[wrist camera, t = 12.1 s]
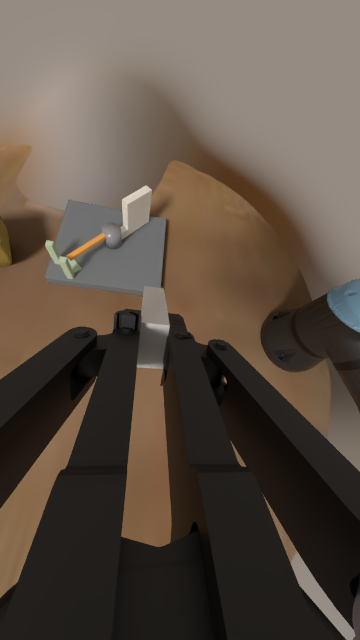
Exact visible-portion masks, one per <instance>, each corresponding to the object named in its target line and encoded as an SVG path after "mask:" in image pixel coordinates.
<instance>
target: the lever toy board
mask: <svg viewBox="0 0 360 640" xmlns="http://www.w3.org/2000/svg"><path fill="white" fill-rule="evenodd" d="M108 222H113V223H116V224H118V225H119V226H120V227H121V226H123V212H122V210H118V209H113V208H108V207H103V206H97V205H93V204H88V203H83V202H77V201H72V200H68V203H67V206H66V210H65V213H64V216H63V219H62V223H61V226H60V229H59V233H58V236H57V239H56V242H55V244H54V242H53V241H48V240H46V243H45V247H46V248H47V250H48V252H49V254H50V256H51V259H50V262H49V265H48V269H47V272H46V275H45V279H46V281H47V282H48V283H52V284H60V285H68V286H75V287H83V288H91V289H98V290H106V291H113V292H121V293H129V294H136V295H143V292H144V286H150V287H157V288H161V276H162V264H163V252H164V240H165V228H166V219H163V218H158V217H153V216H149V222H148V223H146V224H145V225H143V226H142V227H140V228H139V229H137V230H136V231H134V232H133V233H131V234H130V235H128V236H127V237H125V238H124V239H122V244H121V246H120V247H119V248H117V249H110V248H108V247H106V246H105V244H104V240H103V241H102V242H100V243H99V244H97V245H95V246H94V247H92V248H91V249H89V250H88V251H86V252H85V253H83V254H81V255H80V256H78V257H77V258H75V259H74V260H72V261H70V260H69V259H68V258H67V256H66V255H68V254H70V253H71V252H73V251H74V250H76V249H78V248H79V247H81V246H82V245H84V244H86V243H87V242H89V241H90V240H92V239H94V238H95V237H97V236H98V235H100V234H102V226H103V225H104V224H105V223H108Z"/></svg>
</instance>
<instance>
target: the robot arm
mask: <svg viewBox="0 0 360 640" xmlns="http://www.w3.org/2000/svg"><path fill="white" fill-rule="evenodd" d="M261 342H262V346H263V349H264V351H265V353H266V355H267V356H268V358H269V359H270V360H271V361H272V362H273V363H274V364H275V365H276V366H278V367H279V368H281V369H283V370H285V371H289V372H301V371H306V370H309V369H311V368H313V367H314V366H315V365H317V364H318V363H320V362H321V361H322V360H324V359H325V358H330V360H331V361H332V363H333V365H334V366H335V368H336V370H337V372H338V374H339V375H340V377H341V379H342V381H343V382H344V384H345V386H346V388H347V389H348V391H349V393H350V395H351V396H352V398H353V400H354V401H355V403H356V405H357V407H358V410H359V412H360V279H356V280H353V281H350V282H348V283H346V284H344V285H342V286H339V287H335V288H334V289H332V290H330V292H329V293H327V294H325V295H323V296H321V297H320V298H318V299H316V300H314V301H312V302H310V303H308V304H306V305H304V306H303V307H301V308H299V309H291V310H283V311H279V312H277V313H275V314H273V315H271V316H270V317H268V318H267V319H266V321H265V322H264V324H263V326H262V329H261ZM163 363H164V368H163V374H162V379H161V385H160V386H162V385H163V392H164V407H165V423H166V438H167V453H168V469H169V484H170V500H171V515H172V530H171V543H169V544H167V545H165V546H162V547H155V546H151V545H148V544H144V543H141V542H137V541H134V540H130V539H127V538H123V537H121V532H122V521H123V511H124V500H125V489H126V479H127V463H128V453H129V442H130V432H131V421H132V411H133V401H134V390H135V380H136V369H137V367H142V368H156V369H162V367H163ZM96 376H98V377H97V380H96V382H95V379H96ZM224 377H225V378H226V380H227V384H226V383H225V382H224V381H223V380H224ZM94 382H95V385H94V388H93V391H92V394H91V397H90V400H89V403H88V406H87V409H86V412H85V415H84V418H83V421H82V424H81V427H80V430H79V433H78V436H77V438H76V441H75V444H74V447H73V450H72V453H71V456H70V459H69V462H68V464H67V466H66V468H65V469H63V470H61V471H60V473H59V474H58V476H57V478H56V480H55V483H54V485H53V488H52V490H51V493H50V496H49V498H48V501H47V504H46V507H45V509H44V512H43V515H42V518H41V520H40V523H39V526H38V528H37V531H36V534H35V537H34V539H33V542H32V545H31V548H30V550H29V553H28V556H27V558H26V561H25V564H24V567H23V569H22V572H21V575H20V578H19V580H18V582H17V583H16V584H15V585H14V586H13V587H11V588H10V589H9V590H8V591H7V592H6V593H5V594H4V595H3V596H2V597H1V598H0V640H346V639H345V638H344V637H343V636H342V634H341V633H340V632H339V631H338V630H337V629H336V628H335V626H334V625H333V624H332V623H331V622H330V621H329V619H328V618H327V617H326V616H325V615H324V614H323V612H322V611H321V610H320V609H319V608H318V607H317V606H316V604H315V603H314V602H313V601H312V600H311V599H310V598H309V596H308V595H307V594H306V593H305V592H304V590H302V588H301V587H300V586H299V584H298V581H297V579H296V576H295V574H294V571H293V569H292V566H291V564H290V561H289V559H288V556H287V554H286V551H285V549H284V546H283V544H282V541H281V539H280V536H279V534H278V531H277V529H276V526H275V524H274V521H273V519H272V516H271V514H270V511H269V509H268V506H267V504H266V501H265V499H264V496H265V498H266V500H267V501H268V503H269V505H270V506H271V508H272V510H273V511H274V513H275V515H276V516H277V518H278V520H279V521H280V523H281V525H282V526H283V528H284V530H285V531H286V533H287V535H288V536H289V538H290V540H291V541H292V543H293V545H294V546H295V548H296V550H297V551H298V553H299V554H300V556H301V558H302V559H303V561H304V562H305V564H306V566H307V567H308V569H309V570H310V572H311V573H312V575H313V576H314V578H315V579H316V581H317V583H318V584H319V585H320V587H321V588H322V589H323V591H324V592H325V594H326V595H327V596H328V598H329V599H330V600H331V602H332V603H333V605H334V606H335V607H336V609H337V610H338V611H339V612H340V614H341V615H342V616H343V617H344V618H345V620H346V621H347V622H348V623H349V625H350V626H351V627H352V628H353V629H354V632H355V635H356V636H355V637H354V639H353V640H360V472H359V471H358V470H357V469H356V468H355V467H354V466H353V465H352V464H351V463H350V462H349V461H348V460H347V459H346V458H345V457H344V456H343V455H342V454H341V453H340V452H339V451H338V450H337V449H336V448H335V447H334V446H333V445H332V444H331V443H330V442H329V441H328V440H327V439H326V438H325V437H324V436H323V435H322V434H321V433H320V432H319V431H318V430H317V429H316V428H315V427H314V426H313V425H312V424H311V423H310V422H309V421H308V420H307V419H305V418H304V417H303V416H302V415H301V414H300V413H299V412H298V411H297V410H296V409H295V408H294V407H293V406H292V405H291V404H290V403H289V402H288V401H287V400H286V399H285V398H284V397H283V396H282V395H281V394H280V393H279V392H278V391H277V390H276V389H275V388H274V387H273V386H272V385H271V384H270V383H269V382H268V381H267V380H266V379H265V378H264V377H263V376H262V375H261V374H260V373H259V372H258V371H257V370H256V369H255V368H254V367H253V366H252V365H251V364H250V363H249V362H248V361H247V360H245V359H244V358H243V357H242V356H241V355H240V354H239V353H238V352H237V351H236V350H235V349H234V348H233V347H232V346H231V345H230V344H229V343H227V342H225V341H223V340H219V339H218V340H216V339H214V340H210V341H209V342H208V346H207V345H203V344H200V343H197V342H195V339H194V337H193V335H192V334H191V333H189V332H187V329H186V326H185V322H184V319H183V318H182V317H181V316H180V315H179V314H170V313H168V312H167V306H166V300H165V294H164V288H157V287H150V286H144V292H143V301H142V310H141V311H140V310H132V309H125V310H123V311H118V312H116V313H115V315H114V329H113V332H112V333H111V334H107V335H99V336H97V332H96V331H95V330H94V329H92V328H89V327H77V328H72V329H70V330H68V331H67V332H66V333H64V334H63V335H61V336H60V337H59V338H57V339H56V340H54V341H53V342H52V343H50V344H49V345H48V346H46V347H45V348H43V349H42V350H41V351H39V352H38V353H37V354H35V355H34V356H32V357H31V358H30V359H28V360H27V361H25V362H24V363H23V364H21V365H20V366H19V367H17V368H16V369H14V370H13V371H12V372H10V373H9V374H8V375H6V376H5V377H3V378H2V379H1V380H0V508H1V507H2V506H3V504H4V503H5V502H6V500H7V499H8V498H9V496H10V495H11V494H12V492H13V491H14V489H15V488H16V487H17V485H18V484H19V483H20V481H21V480H22V479H23V477H24V476H25V475H26V473H27V472H28V471H29V469H30V468H31V467H32V465H33V464H34V462H35V461H36V460H37V458H38V457H39V456H40V454H41V453H42V452H43V450H44V449H45V448H46V446H47V445H48V444H49V442H50V441H51V440H52V438H53V437H54V436H55V434H56V433H57V431H58V430H59V429H60V427H61V426H62V425H63V423H64V422H65V421H66V419H67V418H68V417H69V415H70V414H71V413H72V411H73V410H74V409H75V407H76V406H77V405H78V403H79V402H80V400H81V399H82V398H83V396H84V395H85V394H86V392H87V391H88V390H89V388H90V387H91V386H92V384H93V383H94ZM230 440H231V441H230ZM231 442H232V443H233V445H234V447H235V448H236V450H237V452H238V453H239V455H240V456H241V458H242V460H243V461H244V463H245V465H246V466H247V467H242V466H241V465H240V464H239V463H238V461H237V458H236V455H235V452H234V450H233V447H232V444H231ZM262 493H263V494H262ZM263 495H264V496H263Z"/></svg>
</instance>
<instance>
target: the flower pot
mask: <svg viewBox="0 0 360 640" xmlns="http://www.w3.org/2000/svg"><path fill="white" fill-rule="evenodd" d="M11 264H12V256H11V250H10V243H9V236H8V231H7V229H6V226H5V224H4V222H3V220H2V218H1V216H0V266H8V265H11Z"/></svg>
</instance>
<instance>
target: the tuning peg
mask: <svg viewBox="0 0 360 640" xmlns="http://www.w3.org/2000/svg"><path fill="white" fill-rule="evenodd" d="M151 193H152V190H151V189H150V188H149V187H148V186H145V187H143V188H141V189H139V190H138V191H136V192H134V193H132V194H131V195H129V196H127V197H125V198H124V199H122V212H123V226H121V227H120V226H119V225H118V224H116V223H113V222H108V223H105V224H104V225H103V226H102V234H100V235H98V236H97V237H95V238H94V239H92V240H90V241H89V242H87V243H86V244H84V245H82V246H81V247H79V248H78V249H76V250H74V251H73V252H71V253H70V254H68V255H66V256H67V258H68V259H69V260H70V261H72V260H74V259H75V258H77V257H78V256H80V255H81V254H83V253H85V252H86V251H88V250H89V249H91V248H92V247H94V246H95V245H97V244H99V243H100V242H102V241H103V240H104V244H105V246H106V247H108V248H110V249H117V248H119V247H120V246H121V244H122V239H124V238H125V237H127V236H128V235H130V234H131V233H133V232H134V231H136V230H137V229H139V228H140V227H142V226H143V225H145V224H146V223H148V222H149V214H150V204H151Z"/></svg>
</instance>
